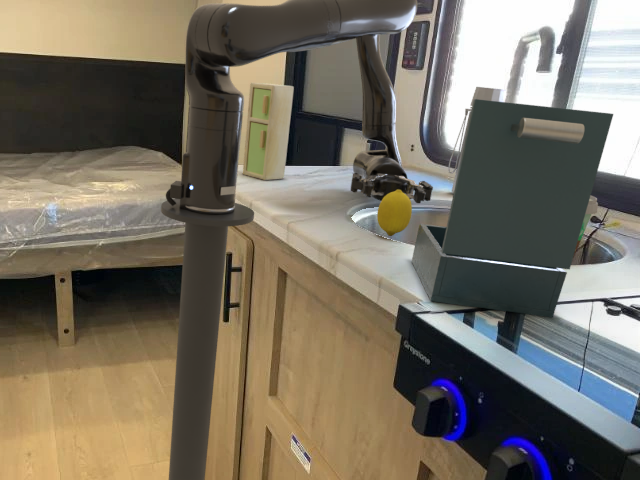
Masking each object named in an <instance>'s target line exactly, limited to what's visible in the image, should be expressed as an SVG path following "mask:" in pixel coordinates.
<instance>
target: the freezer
mask: <svg viewBox="0 0 640 480" xmlns="http://www.w3.org/2000/svg"><path fill="white" fill-rule="evenodd" d="M446 227H447V226H443V225H436V224H427V223H419V225H418V230H417V234H416V238H415V244H414V248H413V253H412V257H411V264H412V265H413V267H414V269H415V271H416V274H417V276H418V278H419V280H420V282H421V284H422V286H423V289H424V291H425V292H426V294H427V296H428V299H429V301H430V302H433V303H434V302H435V303H442V304H449V305H455V306H456V305H458V306H464V307H472V308H478V309H479V308H480V309H488V310H495V311H502V312H508V313H509V312H510V313H517V314H525V315H533V316H539V317H548V318H554V315H555V312H556V309H557V305H558V301H559V299H560V296H561V293H562V289H563V286H564V283H565V281H566V277H567V275H568V272H567V271H566V269H562V268H554V267H546V266H538V265H531V264H523V263H515V262H507V261H499V260H492V259H484V258H476V257H468V256H460V255H452V254H445V253H442V252H441V251H442V246H443V241H444V237H445V232H446Z"/></svg>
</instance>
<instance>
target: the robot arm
mask: <svg viewBox="0 0 640 480" xmlns="http://www.w3.org/2000/svg"><path fill="white" fill-rule="evenodd" d="M417 11H418V0H286V1H284V2H283V3H280V4H275V5H252V4H242V3H228V2H227V3H226V2H225V3H222V2H221V3H220V2H219V3H216V2H215V3H205V4H201V5H199V6H198V7H197V8H195V9H194V11H192V14H191V16H190V18H189V20H188V24H187V27H186V33H185V63H184V64H185V68H184V70H185V71H184V73H185V75H184V78H185V79H184V80H185V82H184V83H185V89H186V91H187V94H188V113H187V129H186V145H185V152H184V153H183V154H182V159H181V160H182V162H181V178H180V180H175V181H173V182H172V183H171V184H170V188H169V189H168V190H167V191H166V193H165V200H166V201H168V202H169V203H170V204H171V205H172V206H173V205H175V204H176V202H175V201H174V200H173V199H180V209H184V210H188V211H191V212H195V213H200V214H208V215H224V214H230V213H233V212H234V209H235V205H234V203H236V192H237V182H238V170H239V159H240V151H241V139H242V129H243V118H244V106H245V96H244V94H243V92H241V90H239V89H238V88H237V87H236V85H234V83H233V81H232V79H231V70H230V69H231V68H235V67H243V66H247V65H249V64H252V63H254V62H257V61H260V60H262V59H265V58H268V57H271V56H273V55H277V54H280V53H295V52H296V53H297V52H305V51H312V50H318V49H321V48H327V47H330V46H331V47H332V46H334V45H337V44H341V43H345V42H349V41H352V40H355V42H356V43H355V44H356V51H357V59H358V65H359V66H358V67H359V71H360V81H361V92H362V118H361V119H362V121H361V122H362V126H361V133H362V136H363V138H364V139H366V140H369V141H373V142H374V141H375V142H380V143H382V144H383V145H384V146H385V149H374V150H363V151H360V152H359V153H357V154H356V155H355V157H354V160H353V163H352V171H353V173H352V177H351V184H350V192H351V193H358V191H360V193H361V194H362V195H365V197H366V198H371V196H372V197H373V198H374V199H375V200H377V201H379V202H381V201H382V199H383V198H384V197H385V196H386V195H387V194H389V193H391V192H394V191H396V190H401V191H402V192H403V193H404V194H406V195H407V196H408V197H409V199H410V200H413V201H414V202H415V204H421V203H422V202H424V201H425V202H430V201H431V198H432V193H433V189H434V187H433V186H432V185H431V184H430V183H429V182H427V181H425V180H421V181H419V182H418V184H417V183H416V181H415V180H413V179H410V178H408V175H407V172H406V170H405V169H404V168H403V161H402V157H401V154H400V150H399V146H398V141H397V134H396V122H397V121H396V119H397V96H396V92H395V89H394V85H393V84H392V81H391V78H390V76H389V74H388V72H387V70H386V67H385V65H384V62H383V59H382V55H381V47H380V40H381V39H380V38H381V36H382V35H383V36H384V35H385V36H386V35H396V34H399V33H402V32H404V31H406V30H407V29H408V28H409V27H410V26H411V24H412V23H413V22H414V19H415V18H416V15H417Z"/></svg>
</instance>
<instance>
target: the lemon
mask: <svg viewBox="0 0 640 480" xmlns="http://www.w3.org/2000/svg"><path fill="white" fill-rule="evenodd" d="M412 204H413V203H412V200H411V199H409V197H408V196H407V195H406V194H404V193H403V192H402V191H401V190H396V191H394V192H391V193H389V194H387V195H386V196H385V197H384V198H383V199H382V201H380V202H379V205H378V208H377V212H376V213H377V214H376V215H377V216H376V218H377V224H378V225H379V227H380V229H381V230H382V231H383V232H385V233H386V234H387V236H388V237H393V236H394V235H396V234H398V233H401V232H403V231H404V230H405V229H406V228H407V227H408V226H409V224H410V221H411V219H412V214H413V205H412Z"/></svg>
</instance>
